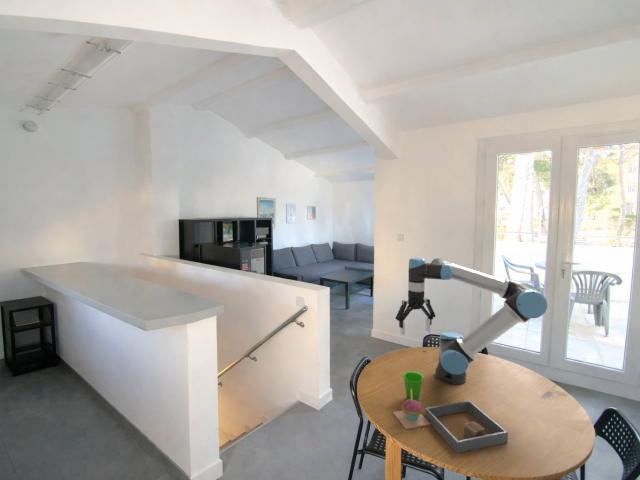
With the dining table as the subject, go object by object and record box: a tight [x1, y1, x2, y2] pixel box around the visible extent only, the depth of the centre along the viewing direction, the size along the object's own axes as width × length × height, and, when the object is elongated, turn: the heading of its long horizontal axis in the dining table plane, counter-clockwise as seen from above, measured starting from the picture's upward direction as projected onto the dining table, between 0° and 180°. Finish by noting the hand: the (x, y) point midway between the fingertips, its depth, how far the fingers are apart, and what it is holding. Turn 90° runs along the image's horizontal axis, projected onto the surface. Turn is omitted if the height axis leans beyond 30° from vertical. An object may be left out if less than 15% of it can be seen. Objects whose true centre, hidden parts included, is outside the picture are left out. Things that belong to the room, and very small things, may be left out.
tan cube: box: [463, 420, 486, 439], centre depth 130 cm, size 5×5×5 cm
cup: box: [402, 371, 424, 402], centre depth 156 cm, size 9×9×11 cm
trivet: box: [392, 409, 431, 430], centre depth 142 cm, size 11×11×1 cm
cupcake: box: [401, 389, 424, 421], centre depth 141 cm, size 9×8×12 cm
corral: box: [424, 400, 509, 454], centre depth 135 cm, size 22×22×4 cm
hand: (415, 332), depth 166 cm, fingers open, 13 cm apart
